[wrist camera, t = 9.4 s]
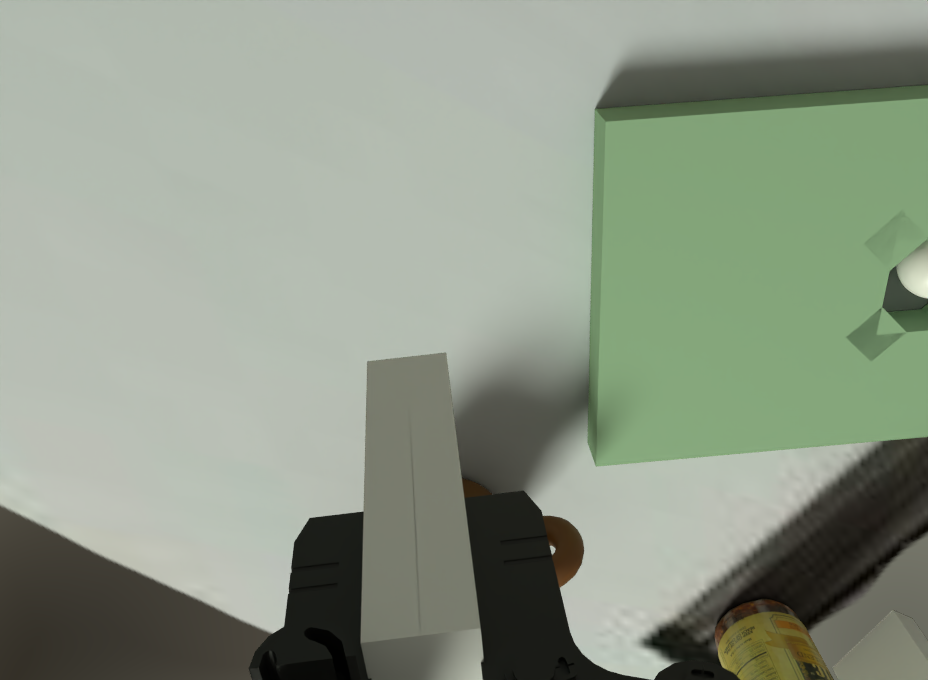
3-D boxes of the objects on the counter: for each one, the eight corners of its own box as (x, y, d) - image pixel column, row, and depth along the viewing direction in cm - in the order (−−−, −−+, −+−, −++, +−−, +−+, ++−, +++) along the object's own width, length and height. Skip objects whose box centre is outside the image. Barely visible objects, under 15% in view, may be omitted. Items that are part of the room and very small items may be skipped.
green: (594, 108, 42) (721, 260, 26) (1088, 73, 43) (1502, 197, 27) (587, 468, 53) (673, 732, 37) (983, 433, 54) (1234, 674, 38)
